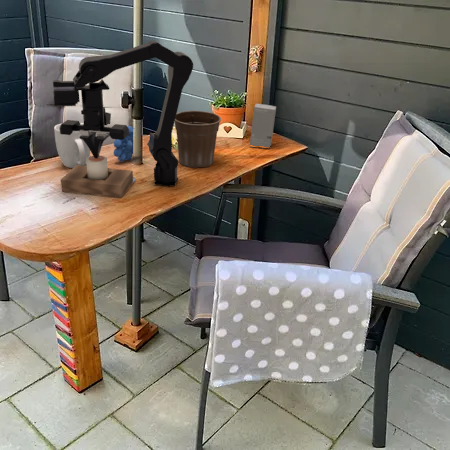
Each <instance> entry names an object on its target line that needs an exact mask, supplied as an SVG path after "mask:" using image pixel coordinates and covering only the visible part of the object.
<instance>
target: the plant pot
mask: <svg viewBox="0 0 450 450" xmlns="http://www.w3.org/2000/svg"><path fill="white" fill-rule="evenodd" d="M221 121H222V117H221V116H220V115H219V114H216V113H213V112H209V111H203V110H202V111H201V110H186V111H180V112H177V114H176V118H175V122H174V127H175V128H174V130H176V131H175V132H176V142H177V151H178V152H177V153H178V155H177V156H178V161H179V163H180V165H182V166H184V167H187V168H193V169H195V168H196V169H197V168H201V167H202V168H207V167H209V166H212V165H213V164H214V158H215V151H216V143H217V135H218V132H219V130H220V128H219V127H220V123H221Z"/></svg>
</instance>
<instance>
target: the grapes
mask: <svg viewBox="0 0 450 450" xmlns="http://www.w3.org/2000/svg"><path fill="white" fill-rule="evenodd" d="M127 127H128V128H129V135H128V136H127V137H126V138H125V139H123V140H118V139H114V141H113V146H114V150H113V156H114V157H116V158H117V160H118V162H121V163H123V162H124V161H131V160H132V158H133V155H134V154H133V129H134V128H133V126H132V125H128V126H127Z"/></svg>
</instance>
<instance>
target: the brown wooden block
mask: <svg viewBox="0 0 450 450" xmlns="http://www.w3.org/2000/svg"><path fill="white" fill-rule="evenodd" d="M133 173H134V172H133V170H131V169H130V170H129V169H120V168H119V169H118V168H110V167H109V168H108V178H107V179H106V180H95V179H88V177H87V165H85V166H80V165H76V166H75V167H74V168H71V170H70V171H68V172H67V173H66V174H65V175H64V176H63V177H62V178H61V179H60V187H61V192H62V193H67V194H76V195H87V196H96V197H106V198H115V199H116V198H117V199H122V198H123V197H124V195H126V193H127V192H128V190H129V188H131V186H132V185H133V184H132V182H133V177H134V176H133V175H134V174H133Z"/></svg>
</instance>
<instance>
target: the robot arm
mask: <svg viewBox="0 0 450 450" xmlns="http://www.w3.org/2000/svg"><path fill="white" fill-rule="evenodd" d="M151 59H157V60H160V62H163V63H164V64H166V65H167V76H168V77H167V80H168V81H167V82H168V84H167V88H166V92H165V97H164V100H163V104H162V109H161V113H160V117H159V123H158V127H157V130H155V133H153V132H150V133H149V140H148V142H147V147H148V150H149V153H150V154H151V156H152V158H153V159H154V161H155V162H156V163H155V166H154V168H153V181H154V183H153V184H154V185H157V186H165V187H167V186H168V187H175V186H176V184H177V182H178V180H179V177H178V166H179V163H180V161H179V159H177V157H176V156H175V154H174V153H173V137H172V135H173V130H174V127H175V118H176V114H177V113H178V109H179V105H180V100H181V97H182V92H183V90H184V89H183V88H184V86H185V85H186V84H187V83H188V81H189V79H190V77H191V74H192V72H193V70H194V62H193V60H192V59H191V57H190V56H188V55H187V54H185V53H183V52H182V51H175V52H174V51H173V50H171V49H170V48H168V47H166V46H163V45H162V44H161V43H160V42H158V41H156V40H150V41H148V42H147V43H146V42H145V43H144V44H140V45H137V46H134V47H131V48H128V49H125V50H121V51H119V52H115V53H112V54H108V55H91V56H86V57H84V58H82V59H81V60H80V62H79V63H78V71H77V72H76V74H75V75H74V77H73V78H72V80H52V86H53V91H52V93H53V103H54V104H53V105H54V107H76V105H78V103H80V94H81V106H82V110H80V113H81V115H82V119H83V123H84V124H83V125H80V123H81V122H80V121H79V120H72V119H67V120H65V121H64V122H62V124H61V123H60V124H61V125H60V134H63V135H71V134H72V133H73V131H80V134H81V136H80V139H83V140H84V142H85V143H86V144H87V146H88V147H89V149H90V154H92V156H94V158H98V157H99V156H100V154H101V150H102V147H103V143H104V142H105V141H106V140H107V139H108V138H109V137H110V139H112V140H116V139H118V140H123V139H125V138H126V137H127V136H128V135H129V128H128V126H127V124H119V123H118V124H116V123H115V124H113V126H111V127H109V126H108V125H111V118H112V117H111V115H112V113H110V112H108V111H107V112H106V107H105V106H104V96H103V91H106V90H107V91H109V90H110V86H109V84H107V83H106V82H105V81H104V79H105V78H106V77H108V76H109V75H110V74H112V73H113V72H116V71H117V70H121V69H123V68H127V67H130V66H132V65H135V64H140V63H142V62H145V61H148V60H151ZM80 92H81V93H80Z"/></svg>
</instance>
